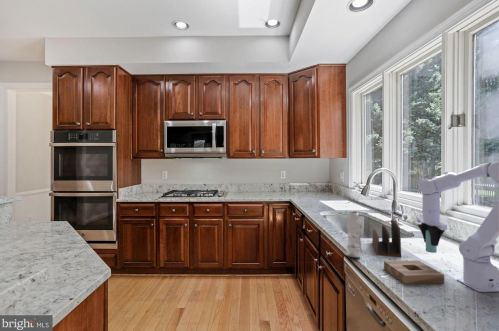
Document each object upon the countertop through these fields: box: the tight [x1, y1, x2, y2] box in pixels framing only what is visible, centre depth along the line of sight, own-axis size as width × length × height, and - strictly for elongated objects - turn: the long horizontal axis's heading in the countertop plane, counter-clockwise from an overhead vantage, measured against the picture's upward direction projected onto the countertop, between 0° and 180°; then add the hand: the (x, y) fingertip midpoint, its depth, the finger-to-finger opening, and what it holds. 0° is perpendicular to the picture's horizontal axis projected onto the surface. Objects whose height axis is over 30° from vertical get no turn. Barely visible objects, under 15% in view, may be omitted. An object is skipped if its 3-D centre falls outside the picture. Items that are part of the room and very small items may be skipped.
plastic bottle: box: [346, 211, 363, 259], centre depth 124 cm, size 6×7×20 cm
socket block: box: [383, 259, 445, 285], centre depth 103 cm, size 14×14×3 cm
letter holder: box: [371, 219, 402, 258], centre depth 134 cm, size 10×20×14 cm, turn 162°
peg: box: [425, 230, 438, 254], centre depth 109 cm, size 4×4×8 cm
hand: (431, 243), depth 109 cm, fingers closed on peg, 4 cm apart
